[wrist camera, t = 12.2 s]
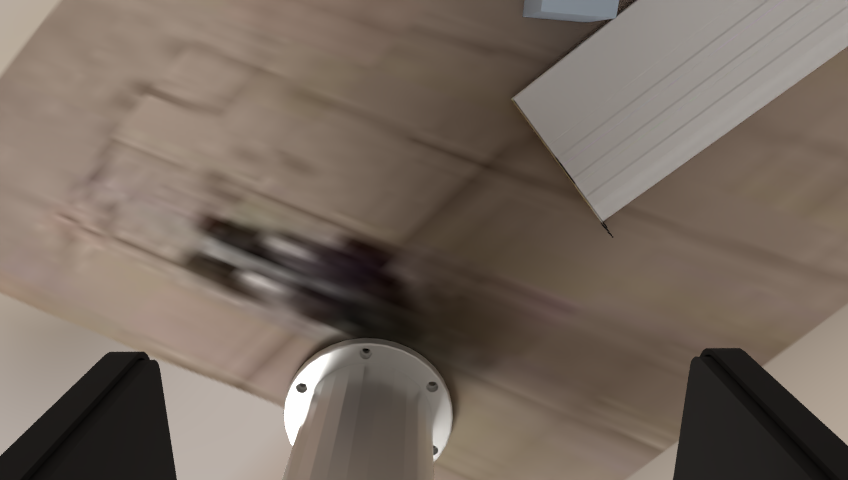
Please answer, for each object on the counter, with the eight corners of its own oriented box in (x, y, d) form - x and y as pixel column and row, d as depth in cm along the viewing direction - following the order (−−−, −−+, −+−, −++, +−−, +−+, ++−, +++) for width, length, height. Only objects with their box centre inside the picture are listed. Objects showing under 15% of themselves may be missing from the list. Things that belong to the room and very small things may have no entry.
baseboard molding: (1038, -71, 36) (958, -258, 33) (1090, -81, 33) (1007, -287, 30) (608, 234, 42) (507, 97, 39) (621, 247, 39) (514, 101, 36)
